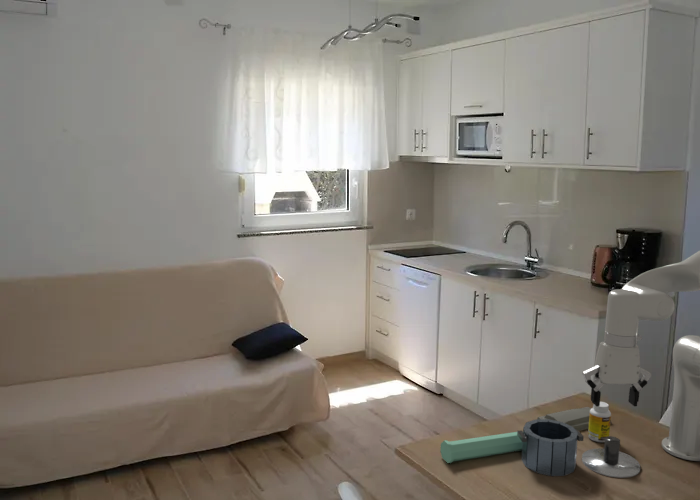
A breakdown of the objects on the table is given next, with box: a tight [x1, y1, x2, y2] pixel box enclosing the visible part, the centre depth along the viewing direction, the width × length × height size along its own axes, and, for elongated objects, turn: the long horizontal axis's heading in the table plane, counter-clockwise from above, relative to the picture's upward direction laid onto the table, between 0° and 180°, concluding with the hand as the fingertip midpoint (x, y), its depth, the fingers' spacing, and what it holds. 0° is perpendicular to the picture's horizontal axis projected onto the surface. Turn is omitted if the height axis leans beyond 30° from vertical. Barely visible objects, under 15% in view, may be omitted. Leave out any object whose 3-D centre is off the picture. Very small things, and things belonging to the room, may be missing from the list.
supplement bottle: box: [587, 401, 612, 443], centre depth 181 cm, size 6×6×10 cm
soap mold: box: [536, 406, 613, 432], centre depth 192 cm, size 10×20×4 cm, turn 114°
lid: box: [581, 435, 641, 479], centre depth 167 cm, size 14×14×7 cm
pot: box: [516, 418, 585, 477], centre depth 167 cm, size 16×13×9 cm
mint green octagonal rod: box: [440, 431, 523, 464], centre depth 172 cm, size 6×6×25 cm
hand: (614, 404), depth 165 cm, fingers open, 9 cm apart
